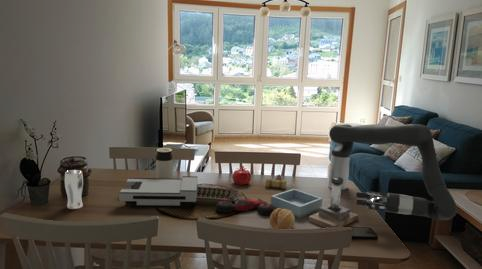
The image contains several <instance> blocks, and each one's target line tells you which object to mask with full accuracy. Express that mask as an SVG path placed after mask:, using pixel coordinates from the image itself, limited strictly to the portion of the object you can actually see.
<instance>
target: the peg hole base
mask: <svg viewBox="0 0 482 269" xmlns="http://www.w3.org/2000/svg"><path fill="white" fill-rule="evenodd" d="M330 204H331V202H330V203H328V204H325V205H322V207H320V208H319V210H318V211H317V212H315V213H312V215H311V214H310V215H309V216H308V221H309V222H311V223H313V224H316V225H318V226H321V227H323V228H326V229H328V228H327V227H341V228H342V227H345V226H347V225H348V224H351V223H353V222H355V221H357V220H358V218H359V214H357V213H355V212H352V211H351V209H350V208H347V207H344V206H341V205H339V211H337V212H335V211H333V210H330Z"/></svg>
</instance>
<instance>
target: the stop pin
mask: <svg viewBox="0 0 482 269" xmlns="http://www.w3.org/2000/svg"><path fill="white" fill-rule="evenodd" d="M343 180H344V179H343V178H341V177H332V178H331V182H332V188H331V194H330V195H331V196H330V203H331V204H330V203H329V204H330V210H333V211H335V212H337V211H339V206H341V205H340V203H341V193H342V190H341V185H342V184H343Z"/></svg>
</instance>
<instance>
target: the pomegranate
mask: <svg viewBox="0 0 482 269" xmlns="http://www.w3.org/2000/svg"><path fill="white" fill-rule="evenodd" d="M244 167H245V165H241V167H238V168H236V169H235V170H234V171H233V173H232V175H231V178H232V181H233V182H234V183H235V184H236V185H239V186H245V185H248V184H250V182H251V180H252V175H251V172H250V171H249V170H248V167H247V168H246V167H245V168H244Z"/></svg>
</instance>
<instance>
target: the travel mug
mask: <svg viewBox="0 0 482 269" xmlns="http://www.w3.org/2000/svg"><path fill="white" fill-rule="evenodd" d="M156 151H157V152H156V153H157V154H156V156H155V178H169V179H173V154H172V151H173V149H172V148H169V147H160V148H157V149H156Z"/></svg>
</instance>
